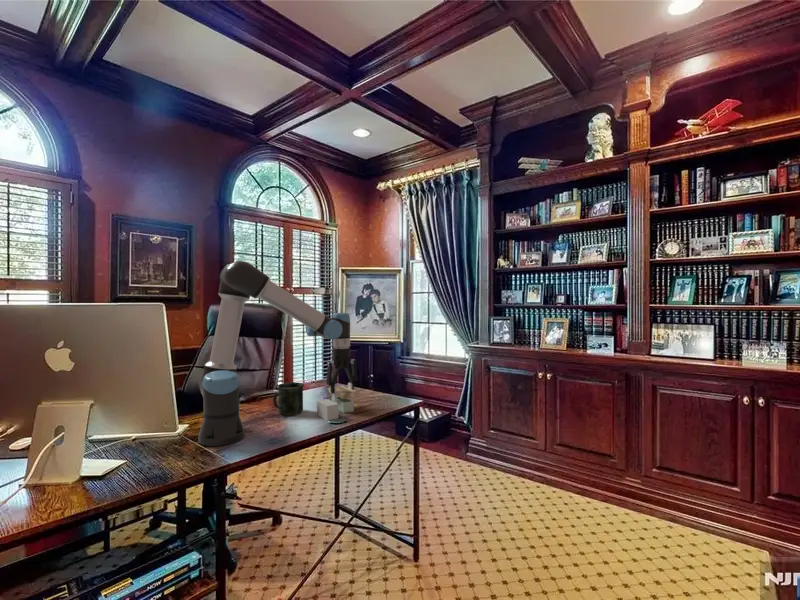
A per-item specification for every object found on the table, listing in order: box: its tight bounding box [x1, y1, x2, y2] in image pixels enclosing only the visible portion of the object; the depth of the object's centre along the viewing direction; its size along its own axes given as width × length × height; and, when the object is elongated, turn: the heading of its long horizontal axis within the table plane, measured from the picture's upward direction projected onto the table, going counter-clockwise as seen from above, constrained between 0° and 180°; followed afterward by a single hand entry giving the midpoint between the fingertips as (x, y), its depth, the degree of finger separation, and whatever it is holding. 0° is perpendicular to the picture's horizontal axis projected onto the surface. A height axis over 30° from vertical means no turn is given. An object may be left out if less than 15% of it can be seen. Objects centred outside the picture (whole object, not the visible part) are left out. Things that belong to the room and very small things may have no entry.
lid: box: [328, 385, 358, 399], centre depth 184 cm, size 7×14×2 cm, turn 34°
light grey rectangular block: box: [316, 398, 339, 422], centre depth 173 cm, size 5×10×6 cm, turn 34°
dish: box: [331, 396, 355, 414], centre depth 184 cm, size 5×12×4 cm, turn 34°
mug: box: [272, 382, 304, 416], centre depth 179 cm, size 11×15×12 cm
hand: (342, 398), depth 184 cm, fingers closed on lid, 7 cm apart
